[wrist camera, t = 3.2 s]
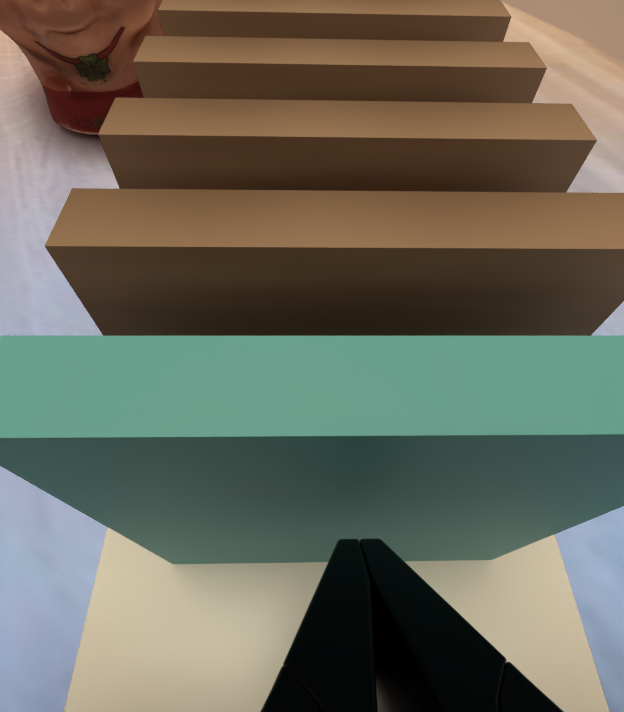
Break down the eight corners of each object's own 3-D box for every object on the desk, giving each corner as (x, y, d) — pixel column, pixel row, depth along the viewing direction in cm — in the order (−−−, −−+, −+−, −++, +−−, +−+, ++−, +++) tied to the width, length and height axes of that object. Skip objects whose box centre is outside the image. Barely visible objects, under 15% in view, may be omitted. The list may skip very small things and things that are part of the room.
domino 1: (426, 269, 23) (511, 16, 13) (217, 268, 22) (157, 9, 13) (421, 248, 23) (498, -2, 14) (220, 247, 23) (166, -9, 14)
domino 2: (437, 321, 21) (546, 68, 11) (209, 321, 20) (133, 61, 11) (432, 296, 21) (529, 42, 12) (213, 295, 21) (145, 35, 12)
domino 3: (469, 462, 17) (673, 249, 8) (187, 464, 16) (44, 246, 7) (461, 424, 18) (633, 193, 8) (193, 426, 17) (72, 188, 8)
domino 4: (491, 559, 15) (800, 432, 6) (172, 564, 15) (-48, 438, 5) (480, 512, 16) (732, 335, 7) (180, 515, 15) (1, 336, 6)
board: (595, 711, 13) (610, 715, 13) (72, 722, 13) (60, 727, 12) (447, 211, 26) (451, 200, 26) (188, 209, 26) (185, 198, 25)
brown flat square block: (452, 384, 19) (596, 140, 10) (199, 385, 18) (98, 134, 9) (444, 354, 20) (571, 103, 10) (204, 354, 19) (115, 97, 10)
